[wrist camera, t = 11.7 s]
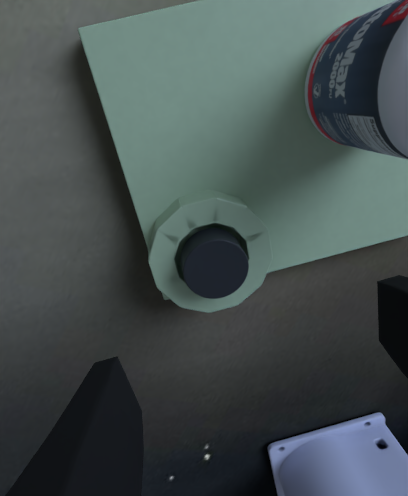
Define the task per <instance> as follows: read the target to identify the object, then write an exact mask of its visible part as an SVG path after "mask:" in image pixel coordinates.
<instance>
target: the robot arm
mask: <svg viewBox="0 0 408 496" xmlns="http://www.w3.org/2000/svg"><path fill="white" fill-rule="evenodd" d="M377 283H378V320H379V341H380V343H381V344H382V345H383V347H384V348H385V350H386V351H387V352H388V354H389V355H390V357H391V358H392V359H393V361H394V362H395V363H396V365H397V366H398V367H399V369H400V370H401V371H402V372H403V374H404V375H405V376H406V377H407V378H408V277H404V276H400V275H398V276H395V277H391V278H388V279H384V280H381V281H377ZM143 453H144V446H143V425H142V410H141V408H140V406H139V403H138V401H137V399H136V397H135V394H134V392H133V390H132V388H131V386H130V383H129V381H128V379H127V377H126V374H125V372H124V370H123V368H122V365H121V363H120V361H119V359H118V357H113V358H110V359H106V360H103V361H99V362H96V363H94V365H93V366H92V368H91V369H90V371H89V372H88V374H87V376H86V377H85V379H84V380H83V382H82V384H81V385H80V387H79V388H78V390H77V392H76V393H75V395H74V396H73V398H72V400H71V401H70V403H69V404H68V406H67V407H66V409H65V411H64V412H63V414H62V415H61V417H60V418H59V420H58V421H57V423H56V424H55V426H54V427H53V429H52V431H51V432H50V434H49V435H48V437H47V438H46V440H45V441H44V442H43V444H42V445H41V447H40V448H39V450H38V451H37V452H36V454H35V455H34V457H33V458H32V459H31V461H30V462H29V464H28V465H27V467H26V468H25V469H24V471H23V472H22V474H21V475H20V476H19V478H18V479H17V481H16V482H15V484H14V485H13V486H12V488H11V489H10V490H9V492H8V493H7V494H6V496H141V489H142V472H143ZM268 453H269V458H270V462H271V467H272V472H273V476H274V481H275V486H276V490H277V495H278V496H408V455H407V454H406V452H405V451H404V449H403V448H402V447H401V445H400V444H399V443H398V441H397V440H396V438H395V437H394V436H393V434H392V433H391V432H390V430H389V429H388V428H387V426H386V425H385V417H384V416H383V414H382V413H374V414H370V415H367V416H363V417H360V418H356V419H353V420H350V421H346V422H343V423H339V424H336V425H332V426H329V427H325V428H322V429H318V430H315V431H311V432H308V433H304V434H301V435H298V436H294V437H291V438H287V439H284V440H280V441H277V442H273V443H271V444H270V445H269V446H268Z"/></svg>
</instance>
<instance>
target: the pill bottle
mask: <svg viewBox="0 0 408 496" xmlns="http://www.w3.org/2000/svg"><path fill="white" fill-rule="evenodd" d="M305 104H306V109H307V113H308V115H309V118H310V120H311V122H312V123H313V125H314V126H315V128H316V129H317V130H318V131H319V132H320V133H321V134H322V135H323V136H324V137H325V138H327V139H329V140H330V141H332V142H335V143H338V144H341V145H345V146H349V147H354V148H358V149H363V150H367V151H372V152H376V153H380V154H385V155H390V156H394V157H398V158H403V159H408V0H396V1H394V2H392V3H389V4H387V5H385V6H382V7H380V8H377V9H375V10H373V11H370V12H368V13H365V14H363V15H361V16H358V17H356V18H353V19H352V20H350V21H348V22H346V23H344V24H342V25H341V26H339V27H338V28H337V29H335V30H334V31H333V32H332V33H331V34H330V35H329V36H328V37H327V38H326V39H325V40H324V41H323V42H322V44H321V45H320V46H319V48H318V50H317V51H316V53H315V55H314V57H313V59H312V61H311V63H310V66H309V68H308V72H307V76H306V81H305Z"/></svg>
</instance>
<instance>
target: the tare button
mask: <svg viewBox="0 0 408 496" xmlns="http://www.w3.org/2000/svg"><path fill="white" fill-rule="evenodd" d="M181 265H182V271H183V276H184V280H185V282H186V284H187V286H188V287H189V289H190V290H191V291H193V292H194V293H195V294H197V295H199V296H201V297H204V298H209V299H217V298H223V297H226V296H228V295H231V294H232V293H234V292H235V291H236V290H238V289H239V288H240V287H241V285H242V284H243V283H244V281H245V279H246V277H247V274H248V269H249V263H248V258H247V256H246V253H245V252H244V250H243V249H242V247H241V246H240V244H239V242H238V241H237V239H236V238H235V237H234V236H233V235H232V234H231V233H229V232H227V231H225V230H223V229H219V228H207V229H203V230H200V231H198V232H196V233H195V234H193V235H192V236H191V237H190V238H189V239H188V240H187V241H186V242H185V244H184V246H183V248H182V251H181Z"/></svg>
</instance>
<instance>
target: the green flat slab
mask: <svg viewBox="0 0 408 496" xmlns="http://www.w3.org/2000/svg"><path fill="white" fill-rule="evenodd" d="M394 1H396V0H199V1H194V2H190V3H186V4H181V5H177V6H173V7H168V8H164V9H160V10H155V11H151V12H147V13H142V14H138V15H134V16H129V17H125V18H121V19H116V20H112V21H108V22H103V23H99V24H95V25H90V26H86V27H82V28H79V29H78V32H79V35H80V38H81V42H82V45H83V48H84V51H85V54H86V57H87V60H88V64H89V67H90V70H91V73H92V76H93V79H94V82H95V85H96V89H97V92H98V95H99V98H100V101H101V104H102V107H103V110H104V114H105V117H106V120H107V123H108V126H109V129H110V132H111V135H112V139H113V142H114V145H115V148H116V151H117V154H118V157H119V161H120V164H121V167H122V170H123V173H124V176H125V179H126V182H127V186H128V189H129V192H130V195H131V198H132V201H133V204H134V207H135V211H136V214H137V217H138V220H139V223H140V226H141V229H142V233H143V236H144V239H145V242H146V245H147V248H148V262H149V266H150V269H151V272H152V275H153V278H154V281H155V284H156V287H157V288H158V290H160V291H161V292H162V295H163V298H164V300H168V299H171V300H172V301H173V302H174V303H175V304H177V305H178V306H179V307H181V308H186V309H191V310H196V311H201V312H207V313H211V312H215V311H218V310H222V309H226V308H230V307H233V306H237V305H238V304H240V303H241V302H243V301H244V300H245V299H246V298H247V297H248V296H250V295H251V294H252V293H253V292H254V291H255V290H257V289H258V288H259V287H260V286H261V285H262V283H263V281H264V279H265V276H266V274H267V273H269V272H273V271H276V270H280V269H284V268H288V267H291V266H295V265H299V264H303V263H306V262H310V261H314V260H318V259H321V258H325V257H329V256H333V255H336V254H340V253H344V252H348V251H351V250H355V249H359V248H363V247H366V246H370V245H374V244H378V243H381V242H385V241H389V240H393V239H396V238H400V237H404V236H408V159H403V158H398V157H394V156H390V155H385V154H380V153H376V152H372V151H367V150H363V149H358V148H354V147H349V146H345V145H341V144H338V143H335V142H332V141H330V140H329V139H327V138H325V137H324V136H323V135H322V134H321V133H320V132H319V131H318V130H317V129H316V128H315V126H314V125H313V123H312V122H311V120H310V118H309V115H308V113H307V109H306V104H305V81H306V76H307V72H308V68H309V66H310V63H311V61H312V59H313V57H314V55H315V53H316V51H317V50H318V48H319V46H320V45H321V44H322V42H323V41H324V40H325V39H326V38H327V37H328V36H329V35H330V34H331V33H332V32H333V31H334V30H335V29H337V28H338V27H339V26H341V25H342V24H344V23H346V22H348V21H350V20H352V19H353V18H356V17H358V16H361V15H363V14H365V13H368V12H370V11H373V10H375V9H377V8H380V7H382V6H385V5H387V4H389V3H392V2H394ZM207 228H219V229H223V230H225V231H227V232H229V233H231V234H232V235H233V236H234V237H235V238H236V239H237V241H238V242H239V244H240V246H241V247H242V249H243V250H244V252H245V253H246V256H247V258H248V263H249V269H248V274H247V277H246V279H245V281H244V283H243V284H242V285H241V287H240V288H239V289H238V290H236V291H235V292H234V293H232V294H231V295H228V296H226V297H223V298H217V299H209V298H204V297H201V296H199V295H197V294H195V293H194V292H193V291H191V290H190V289H189V287H188V286H187V284H186V282H185V280H184V276H183V271H182V265H181V251H182V248H183V246H184V244H185V242H186V241H187V240H188V239H189V238H190V237H191V236H192V235H193V234H195V233H196V232H198V231H200V230H203V229H207Z"/></svg>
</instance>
